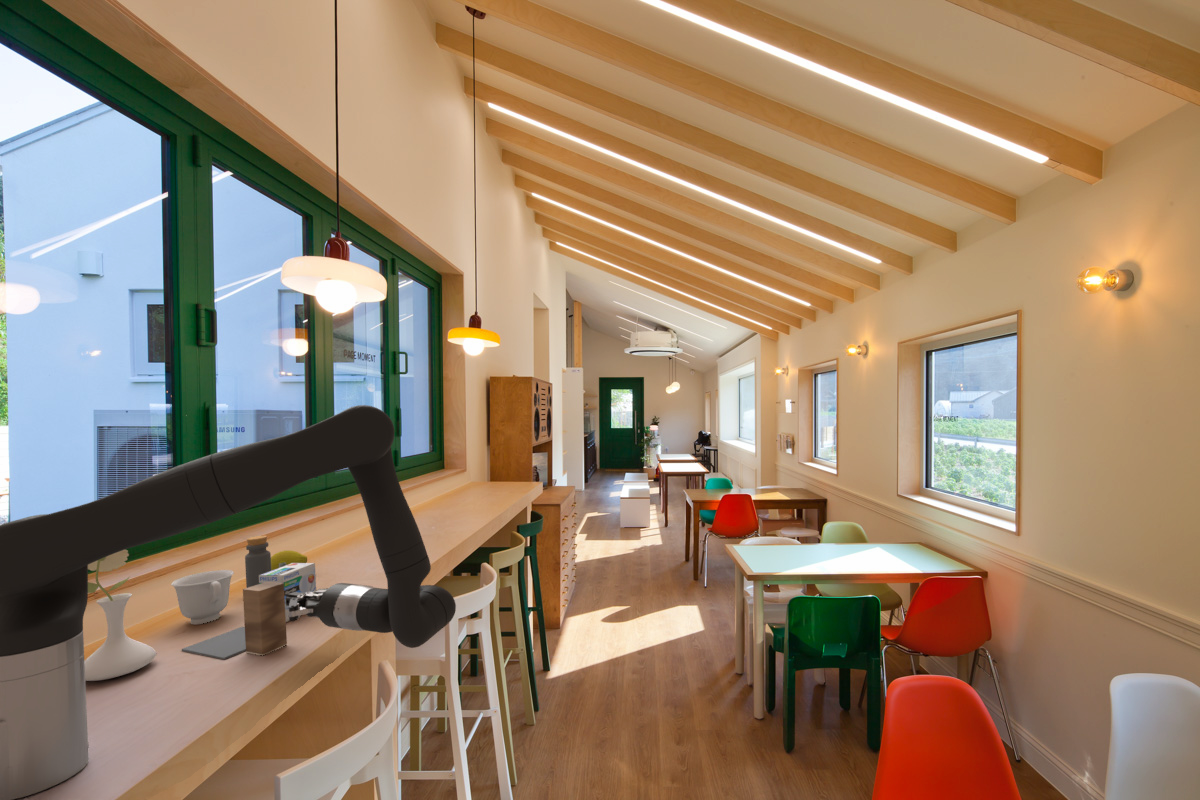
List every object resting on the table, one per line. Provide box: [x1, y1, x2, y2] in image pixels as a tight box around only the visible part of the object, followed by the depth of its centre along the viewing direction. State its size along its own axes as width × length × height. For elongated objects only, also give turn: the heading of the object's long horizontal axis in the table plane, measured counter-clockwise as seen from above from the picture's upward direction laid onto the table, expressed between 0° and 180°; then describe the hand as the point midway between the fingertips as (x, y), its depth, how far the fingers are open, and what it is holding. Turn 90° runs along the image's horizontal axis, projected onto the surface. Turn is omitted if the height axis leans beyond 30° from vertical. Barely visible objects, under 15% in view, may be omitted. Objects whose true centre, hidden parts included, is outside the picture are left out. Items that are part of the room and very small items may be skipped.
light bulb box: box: [259, 562, 317, 623], centre depth 130 cm, size 11×7×11 cm, turn 168°
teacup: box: [170, 569, 235, 625], centre depth 129 cm, size 12×15×10 cm
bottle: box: [244, 535, 272, 588], centre depth 149 cm, size 6×6×15 cm
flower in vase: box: [84, 549, 157, 682], centre depth 103 cm, size 13×11×25 cm
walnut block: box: [242, 582, 288, 657], centre depth 110 cm, size 5×5×12 cm
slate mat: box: [181, 626, 246, 661], centre depth 114 cm, size 14×12×1 cm
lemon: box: [271, 550, 308, 571], centre depth 163 cm, size 11×8×8 cm
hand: (289, 598), depth 106 cm, fingers closed
